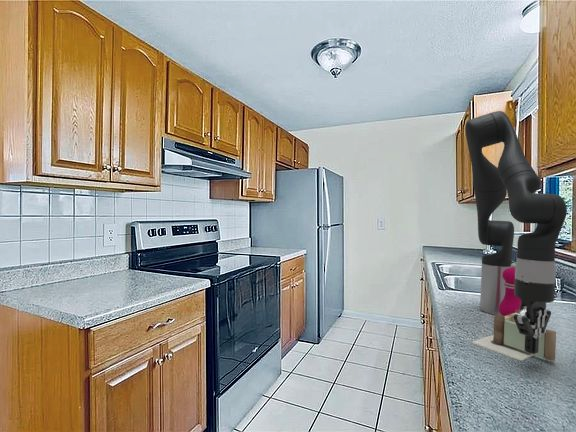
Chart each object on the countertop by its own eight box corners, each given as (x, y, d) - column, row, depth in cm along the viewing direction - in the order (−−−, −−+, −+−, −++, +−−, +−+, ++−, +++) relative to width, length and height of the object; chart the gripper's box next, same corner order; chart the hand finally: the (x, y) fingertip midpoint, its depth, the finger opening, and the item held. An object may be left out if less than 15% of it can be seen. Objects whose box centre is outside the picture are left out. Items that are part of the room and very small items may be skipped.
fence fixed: (515, 334, 96) (516, 308, 96) (524, 337, 94) (526, 310, 94) (491, 343, 89) (492, 315, 88) (500, 346, 86) (502, 317, 86)
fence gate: (502, 344, 86) (504, 319, 86) (506, 342, 87) (507, 317, 87) (552, 361, 77) (554, 333, 77) (556, 359, 78) (557, 331, 78)
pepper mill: (517, 330, 99) (520, 265, 99) (493, 322, 106) (495, 261, 105) (530, 327, 103) (532, 264, 102) (506, 319, 109) (508, 260, 109)
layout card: (501, 332, 97) (501, 331, 97) (549, 348, 87) (549, 346, 87) (471, 343, 88) (471, 341, 88) (521, 361, 78) (521, 359, 78)
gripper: (530, 273, 82) (527, 341, 82) (502, 277, 75) (499, 351, 76) (566, 279, 76) (563, 353, 76) (539, 284, 69) (536, 365, 69)
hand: (531, 352), depth 76 cm, fingers closed
